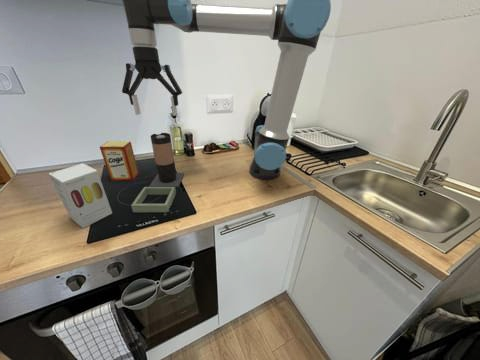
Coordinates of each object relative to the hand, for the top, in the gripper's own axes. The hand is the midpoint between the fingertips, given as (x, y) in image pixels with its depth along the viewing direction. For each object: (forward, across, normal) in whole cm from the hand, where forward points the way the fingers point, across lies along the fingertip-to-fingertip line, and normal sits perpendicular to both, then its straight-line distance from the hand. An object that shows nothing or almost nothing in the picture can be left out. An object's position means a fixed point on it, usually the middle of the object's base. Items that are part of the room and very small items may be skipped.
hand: (156, 114), depth 74 cm
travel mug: (+28, 0, 0) cm, 28 cm away
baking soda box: (+29, +20, -3) cm, 35 cm away
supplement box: (+29, +19, +24) cm, 42 cm away
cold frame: (+29, 0, +16) cm, 33 cm away
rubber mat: (+29, 0, 0) cm, 29 cm away
